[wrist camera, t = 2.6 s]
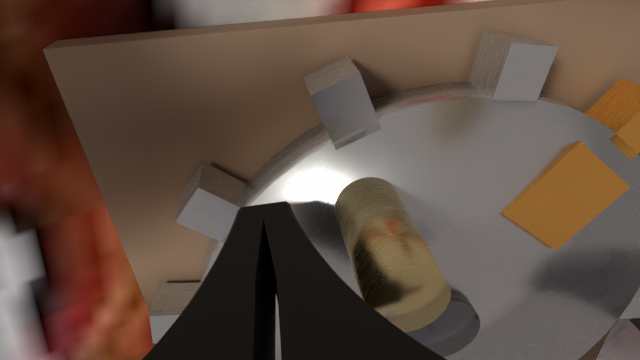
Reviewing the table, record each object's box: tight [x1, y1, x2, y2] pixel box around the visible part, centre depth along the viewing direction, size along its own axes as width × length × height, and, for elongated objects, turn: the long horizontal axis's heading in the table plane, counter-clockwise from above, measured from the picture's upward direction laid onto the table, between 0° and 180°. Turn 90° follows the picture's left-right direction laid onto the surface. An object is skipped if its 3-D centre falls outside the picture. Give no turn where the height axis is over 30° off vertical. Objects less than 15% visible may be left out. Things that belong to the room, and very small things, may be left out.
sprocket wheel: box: [149, 30, 640, 360], centre depth 15 cm, size 21×21×6 cm
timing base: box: [42, 0, 640, 360], centre depth 18 cm, size 22×22×1 cm
